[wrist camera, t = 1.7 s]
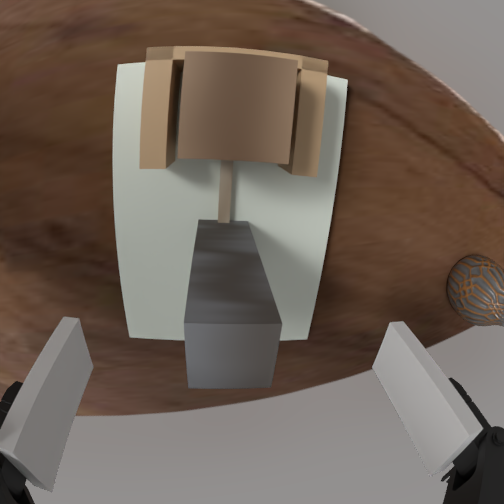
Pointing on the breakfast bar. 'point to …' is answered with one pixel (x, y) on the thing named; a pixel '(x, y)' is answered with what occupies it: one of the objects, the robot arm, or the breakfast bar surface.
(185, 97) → the tether block
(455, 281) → the vase
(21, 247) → the breakfast bar surface
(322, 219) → the white board with bracket
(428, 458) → the robot arm
